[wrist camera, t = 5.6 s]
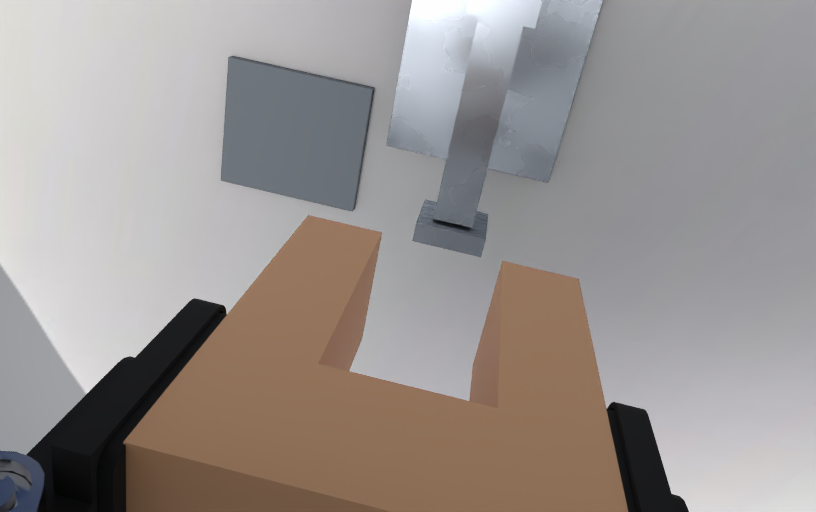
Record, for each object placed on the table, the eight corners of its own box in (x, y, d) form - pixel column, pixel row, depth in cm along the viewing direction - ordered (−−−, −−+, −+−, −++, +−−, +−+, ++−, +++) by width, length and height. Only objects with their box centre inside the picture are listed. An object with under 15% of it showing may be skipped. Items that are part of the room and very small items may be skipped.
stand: (609, -34, 34) (676, -33, 20) (547, 176, 39) (565, 291, 25) (428, -72, 35) (371, -96, 21) (389, 140, 40) (323, 233, 26)
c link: (578, 279, 15) (641, 577, 8) (542, 382, 16) (567, 720, 9) (308, 215, 15) (123, 441, 8) (294, 321, 16) (124, 599, 9)
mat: (374, 87, 39) (372, 89, 38) (354, 208, 42) (352, 211, 42) (232, 55, 39) (228, 57, 39) (224, 177, 43) (220, 180, 42)
